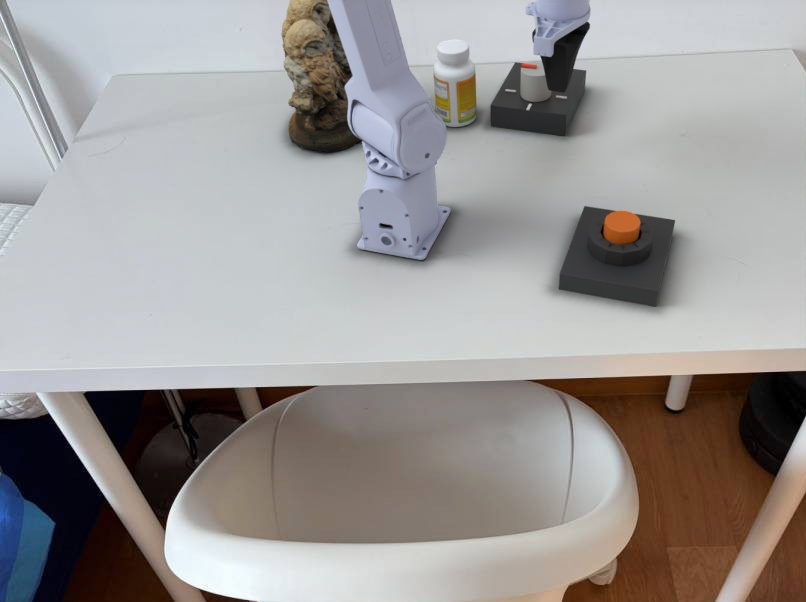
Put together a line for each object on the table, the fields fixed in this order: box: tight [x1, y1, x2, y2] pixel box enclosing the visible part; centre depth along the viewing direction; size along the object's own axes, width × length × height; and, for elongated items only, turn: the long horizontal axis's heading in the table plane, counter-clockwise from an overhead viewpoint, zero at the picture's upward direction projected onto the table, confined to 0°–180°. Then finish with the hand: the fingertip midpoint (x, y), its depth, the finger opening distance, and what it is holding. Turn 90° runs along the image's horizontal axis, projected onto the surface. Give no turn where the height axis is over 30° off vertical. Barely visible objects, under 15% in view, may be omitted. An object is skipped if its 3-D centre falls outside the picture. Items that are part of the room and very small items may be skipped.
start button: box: [603, 210, 640, 245], centre depth 81 cm, size 4×4×2 cm
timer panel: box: [489, 61, 587, 137], centre depth 105 cm, size 12×10×3 cm
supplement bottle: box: [432, 38, 478, 128], centre depth 102 cm, size 5×5×10 cm
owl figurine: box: [280, 0, 362, 153], centre depth 99 cm, size 18×12×17 cm, turn 161°
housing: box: [558, 205, 676, 308], centre depth 83 cm, size 12×10×4 cm
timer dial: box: [520, 60, 551, 102], centre depth 101 cm, size 4×4×4 cm
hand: (557, 88), depth 93 cm, fingers closed
